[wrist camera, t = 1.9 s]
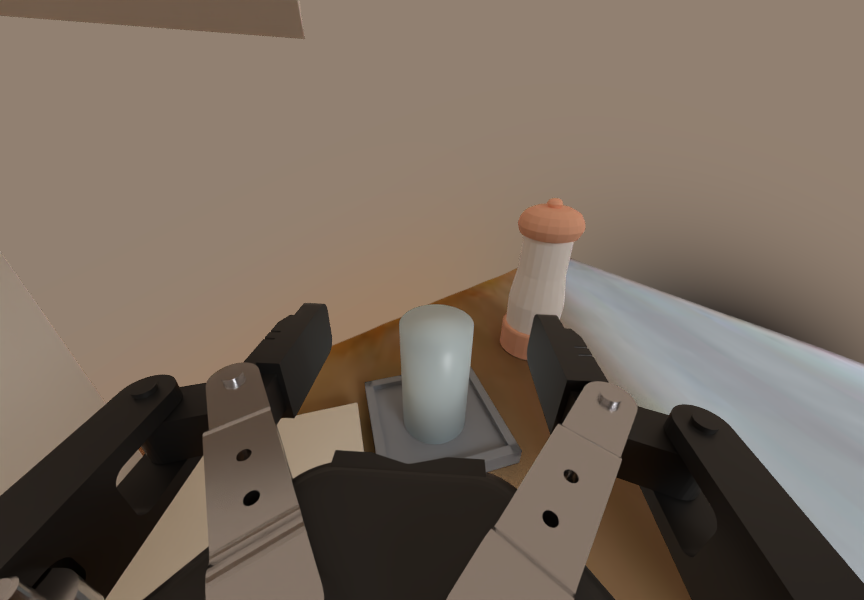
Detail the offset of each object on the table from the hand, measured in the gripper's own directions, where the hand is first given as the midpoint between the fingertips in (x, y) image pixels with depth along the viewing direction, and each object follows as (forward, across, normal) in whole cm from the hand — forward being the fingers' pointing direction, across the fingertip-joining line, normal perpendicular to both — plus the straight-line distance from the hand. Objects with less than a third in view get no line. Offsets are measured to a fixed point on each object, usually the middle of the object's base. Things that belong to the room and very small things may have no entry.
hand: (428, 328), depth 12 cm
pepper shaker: (+25, -12, +19) cm, 34 cm away
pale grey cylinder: (+11, 0, +18) cm, 21 cm away
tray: (+11, 0, +19) cm, 22 cm away
